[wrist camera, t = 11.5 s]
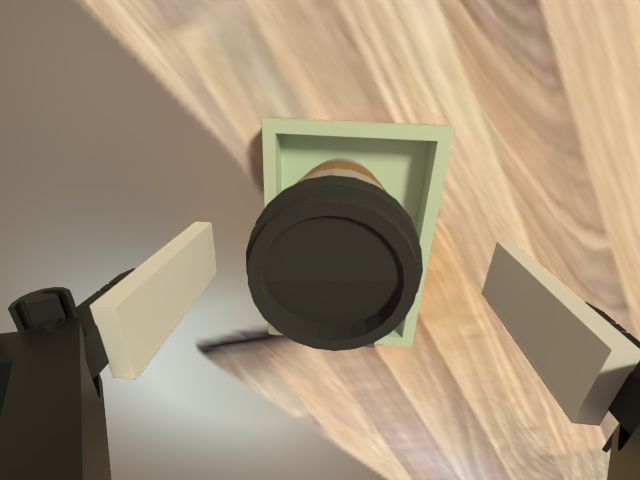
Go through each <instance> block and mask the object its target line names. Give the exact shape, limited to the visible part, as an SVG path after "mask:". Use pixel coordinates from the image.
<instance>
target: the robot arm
mask: <svg viewBox="0 0 640 480" xmlns="http://www.w3.org/2000/svg"><path fill="white" fill-rule="evenodd" d="M216 274H217V268H216V258H215V250H214V241H213V232H212V224H211V223H208V222H195V223H193V224H192V225H191V226H190V227H188V228H187V229H186V230H185V231H183V232H182V233H181V234H179V235H178V236H177V237H176V238H175V239H173V240H172V241H171V242H169V243H168V244H167V245H166V246H164V247H163V248H162V249H161V250H160V251H158V252H157V253H155V254H154V255H153V256H152V257H150V258H149V259H148V260H147V261H145V262H144V263H143V264H142V265H140V266H139V267H138V268H137V269H134V268H133V269H131V270H129V271H126V272H124V273H122V274H120V275H118V276H117V277H116V278H114V279H113V280H112V281H110V282H109V284H106V285H105V286H104V287H102V288H101V289H100V291H97V292H96V293H95V294H93V295H92V296H91V297H89V298H88V299H87V300H85V301H84V302H83V303H81V304H80V305H79V306H77V307H76V305H75V303H74V300H73V297H72V294H71V292H70V290H69V289H66V288H63V287H53V288H46V289H41V290H38V291H35V292H31V293H29V294H27V295H24V296H22V297H20V298H19V299H17V300H16V301H14V302H13V303H12V304H11V305H10V306H9V308H8V310H9V312H10V314H11V316H12V318H13V321H14V323H15V325H16V327H17V329H18V331H19V332H11V333H3V334H0V480H111V471H110V463H109V462H110V461H109V450H108V439H107V429H106V418H105V408H104V397H103V386H102V380H101V377H100V374H99V373H100V372H101V371H102V370H103V369H104V368H105V366H106V365H107V364H109V367H110V370H111V373H112V376H113V377H114V378H125V379H134V380H136V379H137V378H138V376H139V375H140V374H141V372H142V371H143V370H144V369H145V367H146V366H147V365H148V364H149V362H150V361H151V360H152V358H153V357H154V356H155V354H156V353H157V352H158V350H159V349H160V348H161V346H162V345H163V344H164V342H165V341H166V340H167V338H168V337H169V336H170V334H171V333H172V332H173V331H174V329H175V328H176V327H177V325H178V324H179V323H180V321H181V320H182V319H183V317H184V316H185V315H186V313H187V312H188V311H189V310H190V308H191V307H192V306H193V304H194V303H195V302H196V300H197V299H198V298H199V296H200V295H201V294H202V293H203V291H204V290H205V289H206V287H207V286H208V285H209V283H210V282H211V281H212V279H213V278H214V277H215V275H216ZM482 295H483V296H484V297H485V299H486V300H487V302H488V303H489V305H490V306H491V308H492V309H493V310H494V312H495V313H496V315H497V316H498V318H499V319H500V321H501V322H502V323H503V325H504V326H505V328H506V329H507V331H508V332H509V333H510V335H511V336H512V338H513V339H514V341H515V342H516V344H517V345H518V346H519V348H520V349H521V351H522V352H523V354H524V355H525V357H526V358H527V359H528V361H529V362H530V364H531V365H532V367H533V368H534V370H535V371H536V372H537V374H538V375H539V377H540V378H541V380H542V381H543V382H544V384H545V385H546V387H547V388H548V390H549V391H550V393H551V394H552V395H553V397H554V398H555V400H556V401H557V403H558V404H559V406H560V407H561V408H562V410H563V411H564V413H565V414H566V416H567V417H568V418H569V420H570V421H571V423H578V424H588V425H598V426H599V425H600V424H601V422H602V420H603V419H604V417H605V416H606V414H607V412H608V411H610V413H611V414H612V415H613V416H614V417H615V418H616V420H617V421H618V422H619V424H618V426H617V427H616V429H615V430H614V432H613V433H612V435H611V436H610V438H609V440H608V441H607V443H606V444H605V446H604V447H603V449H602V450H603V451H605V452H608V451H609V449H610V448H611V454H610V461H609V469H608V477H607V480H640V342H639V341H638V340H637V339H636V338H634V337H633V336H632V335H631V334H630V333H626V330H625V329H624V328H622V327H621V326H620V325H619V324H616V322H615V321H614V320H613V319H611V318H610V317H609V316H608V315H607V314H605V313H604V312H603V311H601V310H599V309H598V308H596V307H594V306H592V305H590V304H589V303H587V302H584V301H583V300H581V299H580V298H579V297H578V296H577V295H576V294H574V293H573V292H572V291H571V290H570V289H569V288H567V287H566V286H565V285H564V284H563V283H562V282H560V281H559V280H558V279H557V278H556V277H554V276H553V275H552V274H551V273H550V272H549V271H547V270H546V269H545V268H544V267H543V266H542V265H540V264H539V263H538V262H537V261H536V260H534V259H533V258H532V257H531V256H530V255H529V254H527V253H526V252H525V251H524V250H523V249H522V248H520V247H519V246H518V245H517V244H516V243H510V242H497V244H496V247H495V251H494V254H493V257H492V261H491V264H490V267H489V271H488V274H487V277H486V281H485V284H484V287H483V291H482Z"/></svg>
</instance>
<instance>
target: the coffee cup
mask: <svg viewBox="0 0 640 480" xmlns="http://www.w3.org/2000/svg"><path fill="white" fill-rule="evenodd" d="M246 265H247V275H248V285H249V288H250V292H251V295H252V298H253V301H254V303H255V305H256V306H257V308H258V310H259V311H260V313H261V314H262V316H263V317H264V319H265V320H266V321H268V323H270V324H271V325H272V326H273V327H274V328H275V329H276V330H277V331H278V332H279V333H281V334H283V335H284V336H286V337H288V338H289V339H291V340H293V341H295V342H297V343H300V344H303V345H306V346H309V347H312V348H316V349H324V350H332V351H337V350H349V349H356V348H359V347H362V346H366V345H369V344H372V343H374V342H376V341H378V340H380V339H381V338H383V337H385V336H387V335H388V334H390V333H391V332H392V331H393V330H394V329H395V328H396V327H397V326H398V325H399V324H400V323H401V322H402V321H403V320H404V319H405V318H406V316H407V314H408V312H409V311H410V309H411V307H412V306H413V304H414V301H415V297H416V294H417V292H418V290H419V285H420V281H421V277H422V273H423V264H422V250H421V246H420V244H419V237H418V234H417V232H416V229H415V227H414V224H413V222H412V219H411V217H410V216H409V215H408V213H407V212H406V211H405V210H404V208H403V207H402V206H401V204H400V203H399V202H398V201H397V200H396V199H395V198H394V197H392V196H391V195H389V194H388V192H387V191H386V190H385V189H384V187H383V186H382V185H381V184H380V182H379V181H378V180H377V179H376V177H375V176H374V175H373V174H372V173H371V172H370V171H368V169H367V168H365V167H364V166H363V165H361V164H360V163H358V162H356V161H353V160H350V159H343V158H337V159H331V160H328V161H326V162H323V163H321V164H319V165H318V166H317V167H315V168H313V169H312V170H311V171H309V172H308V173H307V174H306V175H305V176H303V177H302V178H301V179H300V180H299V181H298V182H296V183H295V184H294V185H292V186H290V187H288V188H286V189H284V190H283V191H282V192H281V193H280V194H278V195H277V196H276V197H275V198H274V199H273V200H271V201H270V202H269V203H268V204H267V206H266V207H265V209H264V211H263V212H262V214H261V215H260V217H259V218H258V220H257V221H256V225H255V227H254V229H253V230H252V233H251V236H250V240H249V243H248V247H247V251H246Z"/></svg>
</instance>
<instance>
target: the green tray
mask: <svg viewBox="0 0 640 480" xmlns="http://www.w3.org/2000/svg"><path fill="white" fill-rule="evenodd" d="M454 129H455V127H451V126H445V125H427V124H405V123H383V122H361V121H339V120H316V119H294V118H272V117H271V118H262V142H263V173H264V204H265V207H266V206H267V204H268V203H269V202H270V201H271V200H273V199H274V198H275V197H276V196H277V195H278V194H280V193H281V192H282V191H283V190H284V189H286V188H288V187H290V186H292V185H294V184H295V183H296V182H298V181H299V180H300V179H301V178H302V177H303V176H305V175H306V174H307V173H308V172H309V171H311V170H312V169H313V168H315V167H317V166H318V165H319V164H321V163H323V162H326V161H328V160H331V159H337V158H343V159H350V160H353V161H356V162H358V163H360V164H361V165H363V166H364V167H365V168H367V169H368V171H370V172H371V173H372V174H373V175H374V176H375V177H376V179H377V180H378V181H379V182H380V184H381V185H382V186H383V187H384V189H385V190H386V191H387V192H388V194H389V195H391V196H392V197H394V198H395V199H396V200H397V201H398V202H399V203H400V204H401V206H402V207H403V208H404V210H405V211H406V212H407V213H408V215H409V216H410V217H411V219H412V222H413V224H414V227H415V229H416V232H417V234H418V237H419V244H420V246H421V250H422V264H423V273H422V277H421V281H420V285H419V290H418V292H417V294H416V297H415V301H414V304H413V306H412V307H411V309H410V311H409V312H408V314H407V316H406V318H405V319H404V320H403V321H402V322H401V323H400V324H399V325H398V326H397V327H396V328H395V329H394V330H393V331H392V332H391V333H390V334H388V335H387V336H385V337H383V338H381V339H380V340H378V341H376V342H375V344H382V345H393V346H404V347H412V342H413V337H414V332H415V327H416V321H417V316H418V311H419V306H420V301H421V296H422V291H423V286H424V281H425V276H426V271H427V266H428V261H429V256H430V251H431V246H432V240H433V235H434V230H435V225H436V220H437V215H438V210H439V205H440V200H441V195H442V190H443V185H444V180H445V175H446V170H447V165H448V159H449V154H450V149H451V144H452V139H453V134H454ZM268 329H269V334H273V335H283V334H281V333H279V332H278V331H277V330H276V329H275V328H274V327H273V326H272V325H271V324H270V323H268Z"/></svg>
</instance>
